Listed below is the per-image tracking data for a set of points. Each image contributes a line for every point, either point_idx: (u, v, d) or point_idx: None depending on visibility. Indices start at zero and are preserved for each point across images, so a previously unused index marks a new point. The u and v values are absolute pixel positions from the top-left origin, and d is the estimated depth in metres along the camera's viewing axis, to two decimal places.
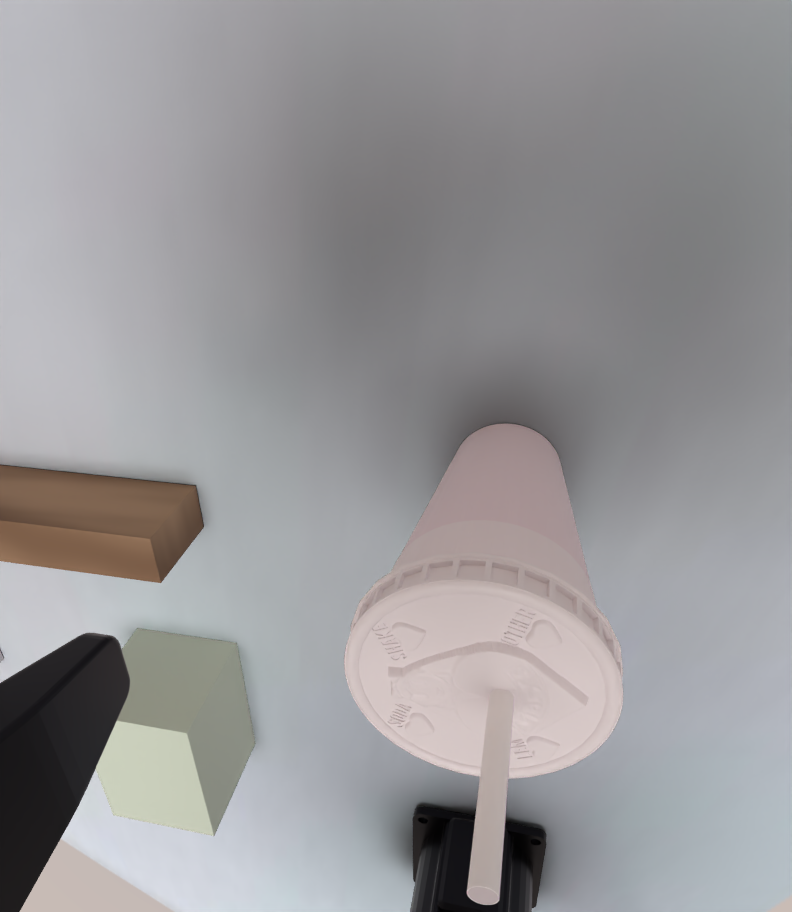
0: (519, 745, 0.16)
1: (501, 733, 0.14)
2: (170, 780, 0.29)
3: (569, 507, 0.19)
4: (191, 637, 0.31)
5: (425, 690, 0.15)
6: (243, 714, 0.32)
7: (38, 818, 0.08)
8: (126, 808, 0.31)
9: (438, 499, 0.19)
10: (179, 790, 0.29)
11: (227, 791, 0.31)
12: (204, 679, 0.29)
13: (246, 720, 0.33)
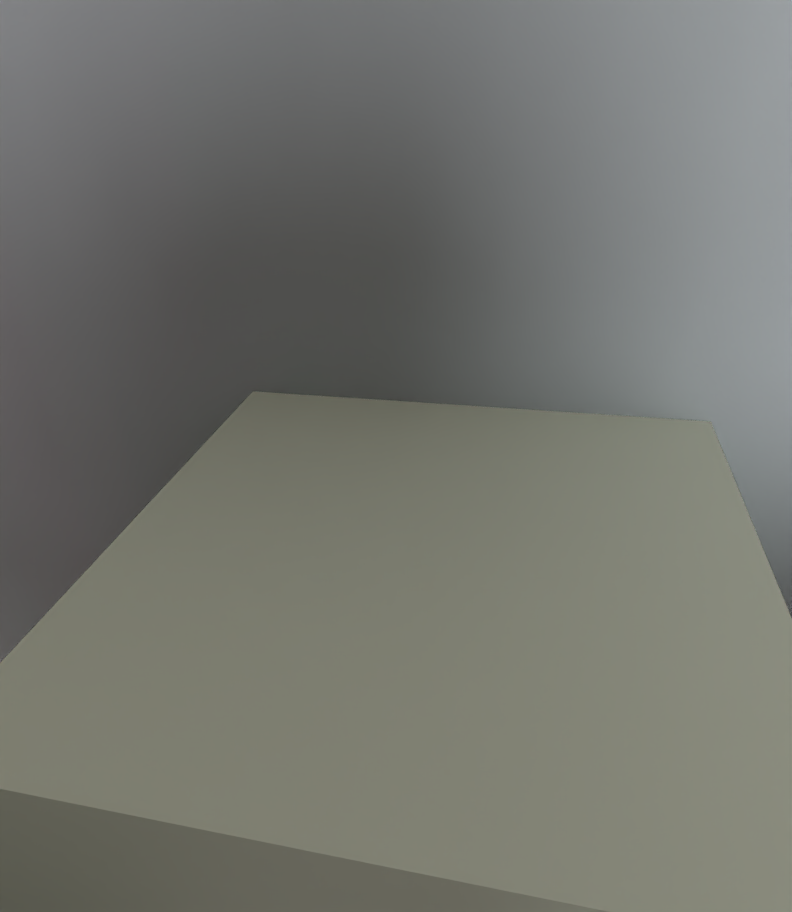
0: None
1: None
2: None
3: None
4: (491, 414, 0.07)
5: None
6: None
7: None
8: None
9: None
10: None
11: None
12: (694, 555, 0.05)
13: None
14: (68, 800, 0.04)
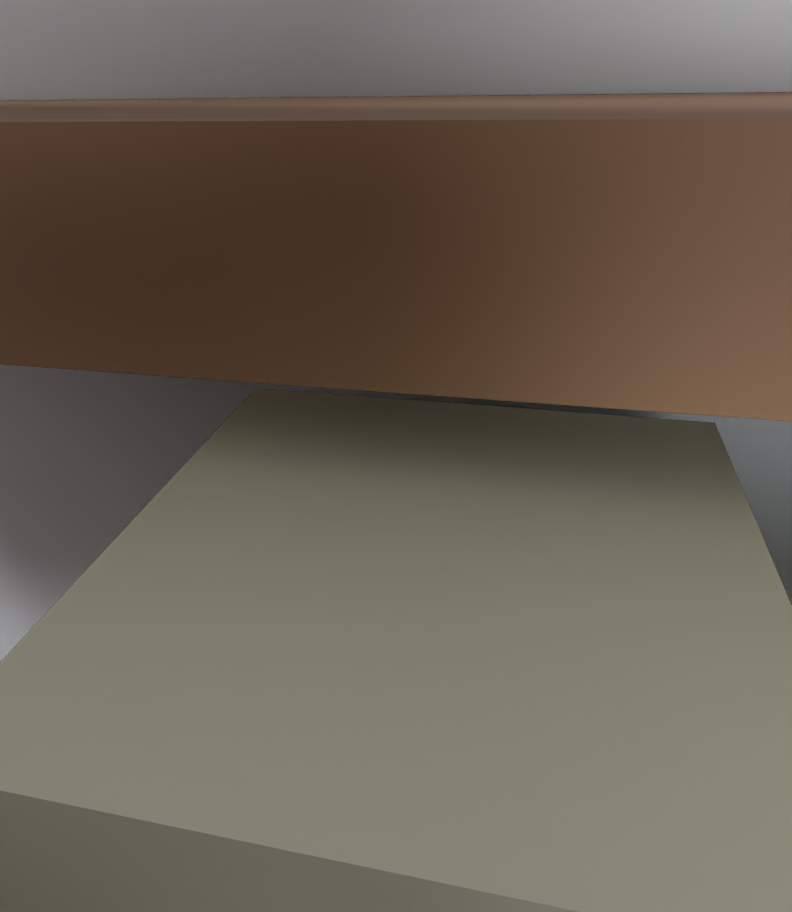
0: None
1: None
2: None
3: None
4: (494, 414, 0.07)
5: None
6: None
7: None
8: None
9: None
10: None
11: None
12: (700, 559, 0.05)
13: None
14: (70, 803, 0.03)
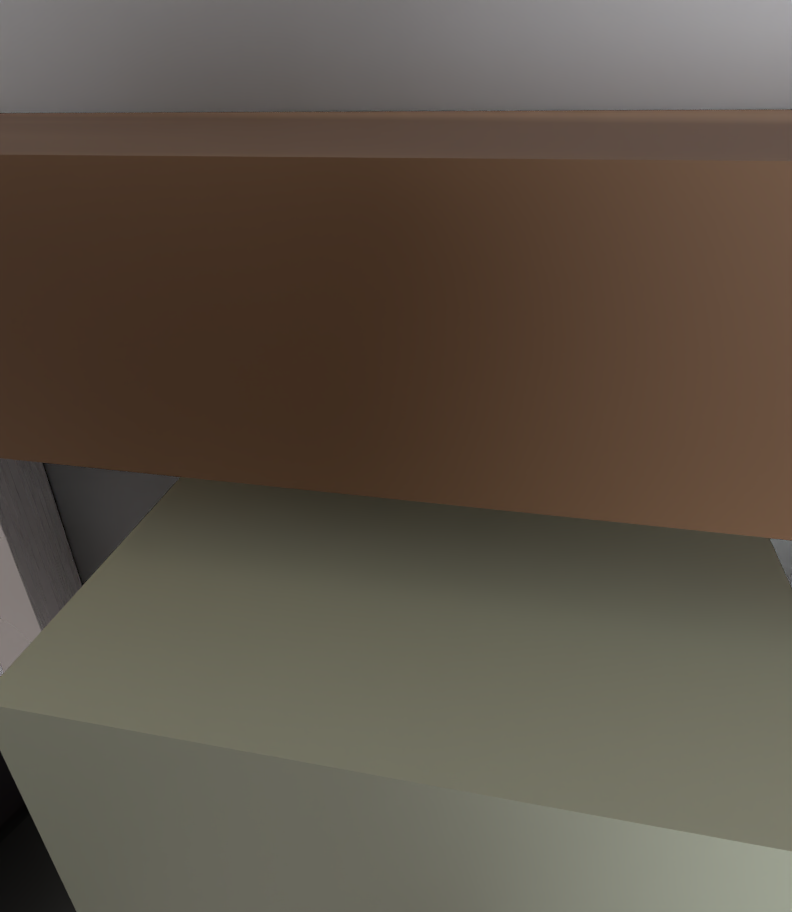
0: None
1: None
2: None
3: None
4: None
5: None
6: None
7: None
8: None
9: None
10: None
11: None
12: None
13: None
14: (133, 729, 0.04)
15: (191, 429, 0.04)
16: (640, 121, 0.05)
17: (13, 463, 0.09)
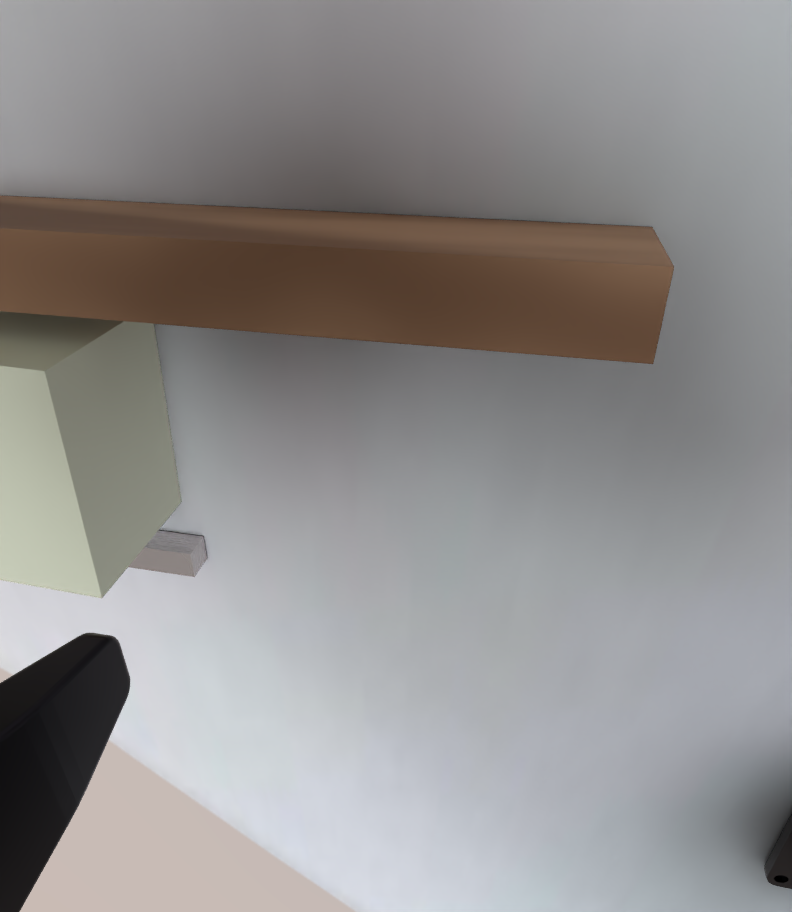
0: None
1: None
2: (26, 485, 0.17)
3: None
4: None
5: None
6: (161, 437, 0.21)
7: (38, 818, 0.08)
8: None
9: None
10: (42, 506, 0.18)
11: (128, 541, 0.20)
12: (91, 329, 0.18)
13: (165, 451, 0.22)
14: None
15: None
16: (55, 208, 0.17)
17: None
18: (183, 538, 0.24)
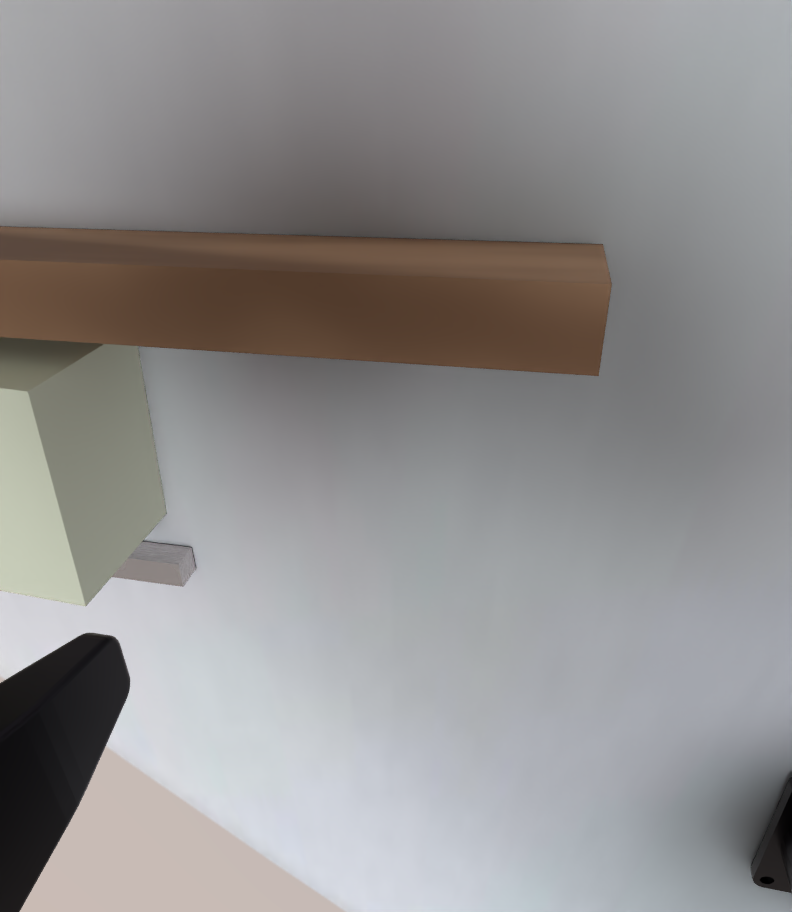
0: None
1: None
2: (12, 497, 0.18)
3: None
4: None
5: None
6: (145, 451, 0.22)
7: (38, 818, 0.08)
8: None
9: None
10: (27, 518, 0.19)
11: (112, 551, 0.21)
12: (74, 349, 0.19)
13: (150, 465, 0.23)
14: None
15: None
16: (39, 238, 0.18)
17: None
18: (172, 549, 0.25)
